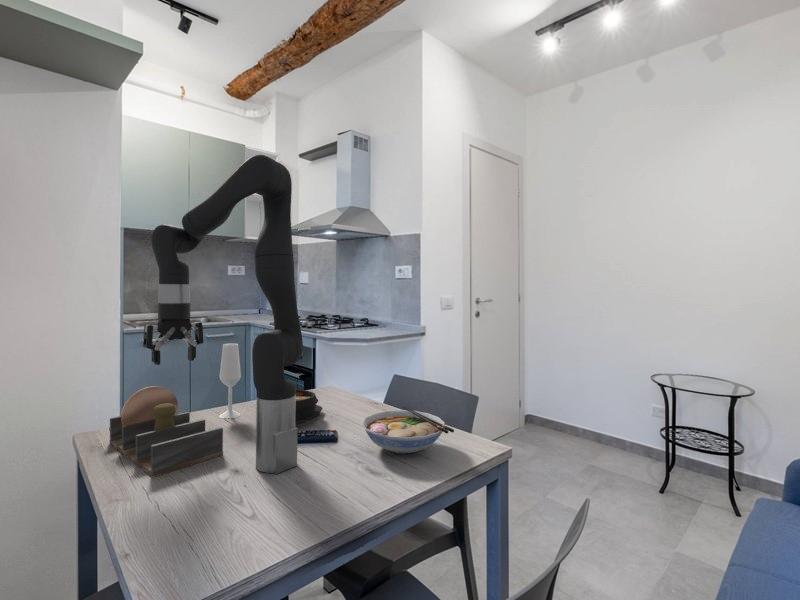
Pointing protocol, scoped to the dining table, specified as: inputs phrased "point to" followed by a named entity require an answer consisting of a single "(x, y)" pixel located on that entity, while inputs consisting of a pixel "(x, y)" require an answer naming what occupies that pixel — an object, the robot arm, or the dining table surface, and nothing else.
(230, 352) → the champagne flute
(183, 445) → the rack
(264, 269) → the robot arm
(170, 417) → the cork
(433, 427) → the ramen bowl
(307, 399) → the casserole
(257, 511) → the dining table surface
